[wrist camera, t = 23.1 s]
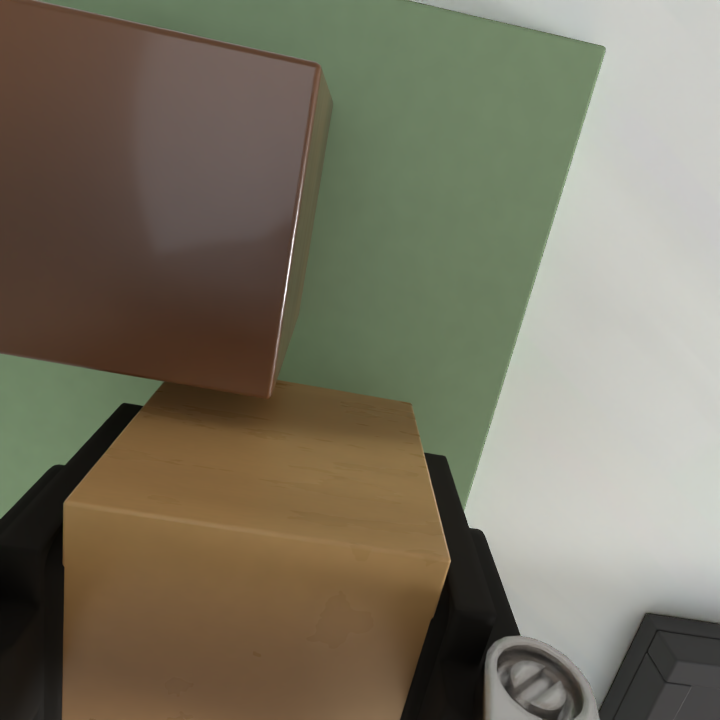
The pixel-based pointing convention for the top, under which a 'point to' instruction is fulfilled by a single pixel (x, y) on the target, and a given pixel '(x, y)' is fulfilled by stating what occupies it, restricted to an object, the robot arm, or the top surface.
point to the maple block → (251, 560)
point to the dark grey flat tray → (668, 673)
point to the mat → (377, 217)
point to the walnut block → (154, 197)
